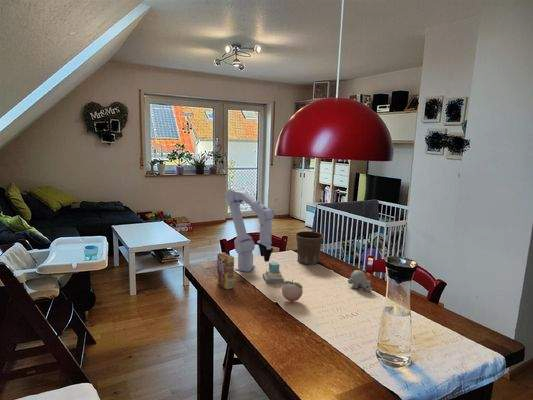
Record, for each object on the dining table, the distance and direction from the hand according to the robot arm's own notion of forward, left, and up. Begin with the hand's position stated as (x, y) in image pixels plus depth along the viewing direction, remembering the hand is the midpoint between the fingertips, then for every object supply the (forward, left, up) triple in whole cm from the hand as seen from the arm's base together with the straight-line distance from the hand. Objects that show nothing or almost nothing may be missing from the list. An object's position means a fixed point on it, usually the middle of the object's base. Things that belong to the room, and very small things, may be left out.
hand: (264, 258), depth 172 cm
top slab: (0, +5, -9) cm, 10 cm away
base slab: (0, +5, -11) cm, 12 cm away
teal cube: (0, +5, -6) cm, 8 cm away
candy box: (+16, -14, -11) cm, 24 cm away
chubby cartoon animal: (-6, +47, -11) cm, 49 cm away
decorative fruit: (+20, +20, -11) cm, 30 cm away
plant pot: (-33, +16, -11) cm, 38 cm away
